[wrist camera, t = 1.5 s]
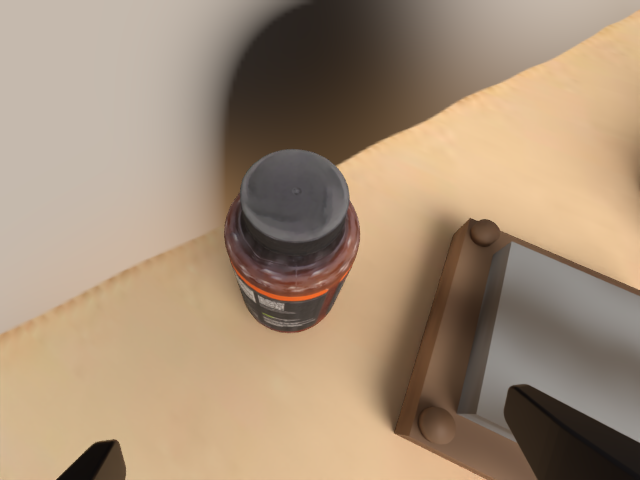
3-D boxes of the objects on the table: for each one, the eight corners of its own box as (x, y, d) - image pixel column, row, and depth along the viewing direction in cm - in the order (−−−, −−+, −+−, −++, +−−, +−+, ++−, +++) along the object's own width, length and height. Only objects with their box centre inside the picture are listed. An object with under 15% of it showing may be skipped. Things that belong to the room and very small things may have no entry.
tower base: (641, 556, 18) (744, 598, 14) (394, 433, 20) (424, 439, 15) (642, 316, 24) (713, 298, 20) (453, 234, 26) (486, 202, 22)
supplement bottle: (323, 240, 24) (355, 119, 14) (345, 323, 22) (403, 251, 12) (236, 254, 23) (203, 135, 13) (249, 345, 21) (223, 284, 11)
